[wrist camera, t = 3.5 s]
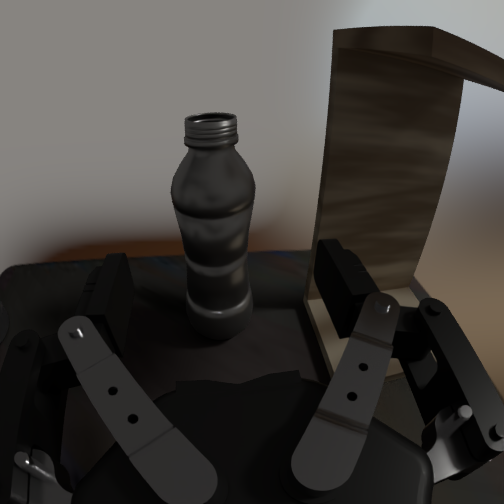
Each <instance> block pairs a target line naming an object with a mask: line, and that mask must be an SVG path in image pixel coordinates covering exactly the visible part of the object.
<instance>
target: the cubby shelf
mask: <svg viewBox="0 0 504 504" xmlns="http://www.w3.org/2000/svg"><path fill="white" fill-rule="evenodd" d="M331 64H332V65H331V78H330V92H329V105H328V116H327V126H326V137H325V146H324V156H323V165H322V174H321V183H320V190H319V198H318V206H317V213H316V221H315V228H314V235H313V242H312V248H311V255H310V261H309V268H308V274H307V280H306V286H305V292H304V298H303V302H304V305H305V307H306V310H307V313H308V316H309V318H310V321H311V324H312V327H313V329H314V332H315V335H316V338H317V340H318V343H319V346H320V349H321V352H322V355H323V357H324V360H325V363H326V366H327V369H328V372H329V374H330V377H331V379H332V377H333V375H334V373H335V370H336V368H337V366H338V364H339V361H340V359H341V357H342V355H343V352H344V350H345V348H346V345H347V343H348V340H349V338H343V339H339V337H338V335H337V332H336V330H335V328H334V325H333V323H332V321H331V318H330V316H329V314H328V311H327V309H326V307H325V304H324V302H323V300H322V297H321V295H320V293H319V291H318V288H317V286H316V284H315V281H314V274H313V270H314V263H315V256H316V250H317V243H318V241H319V240H320V239H334V238H336V239H337V240H338V241H339V242H340V244H341V246H342V247H343V249H349V250H350V251H352V252H353V253H354V254H356V255H357V256H358V257H359V259H360V260H361V262H362V263H363V265H364V267H365V268H366V270H367V272H368V273H369V274H370V276H371V277H372V279H373V280H374V282H375V284H376V285H377V287H378V288H379V290H380V292H383V293H386V294H389V295H391V296H392V297H394V298H395V299H396V300H397V301H398V303H399V305H400V306H407V307H417V308H418V306H419V301H418V300H417V298H416V297H415V296H414V294H413V293H412V291H411V290H410V288H409V285H410V283H411V280H412V278H413V275H414V272H415V270H416V267H417V265H418V262H419V259H420V256H421V254H422V251H423V248H424V245H425V242H426V239H427V236H428V234H429V231H430V228H431V224H432V221H433V218H434V215H435V211H436V208H437V205H438V202H439V198H440V194H441V191H442V187H443V183H444V180H445V176H446V172H447V168H448V164H449V160H450V155H451V151H452V146H453V142H454V137H455V132H456V127H457V121H458V116H459V109H460V103H461V96H462V90H463V82H464V79H465V80H468V81H472V82H475V83H478V84H481V85H484V86H488V87H491V88H493V89H496V90H499V91H502V92H504V59H502V58H501V57H499V56H497V55H495V54H493V53H491V52H489V51H487V50H485V49H483V48H481V47H479V46H477V45H475V44H473V43H471V42H469V41H466V40H465V39H462V38H460V37H458V36H455V35H453V34H451V33H448V32H446V31H443V30H441V29H439V28H436V27H431V26H378V27H360V28H347V29H337V30H333V46H332V63H331ZM431 353H432V355H433V357H434V359H435V361H436V358H435V356H434V354H433V352H432V350H431ZM436 363H437V361H436ZM403 377H406V376H405V374H404V372H403V369H402V367H401V365H400V362H399V360H398V359H397V358H391V359H390V362H389V366H388V369H387V373H386V376H385V379H384V383H385V382H389V381H393V380H396V379H400V378H403Z"/></svg>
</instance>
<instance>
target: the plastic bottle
mask: <svg viewBox="0 0 504 504" xmlns="http://www.w3.org/2000/svg"><path fill="white" fill-rule="evenodd" d="M237 142H238V134H237V119H236V115H233V114H229V113H202V114H196V115H191V116H189V117H186V118H185V137H184V144H185V146H187V147H189V150H188V153H187V154H186V156H185V157H184V159H183V160H182V162H181V164H180V165H179V167H178V169H177V171H176V173H175V175H174V177H173V181H172V186H171V197H172V203H173V205H174V210H175V214H176V217H177V221H178V224H179V228H180V232H181V236H182V242H183V247H184V251H185V258H186V264H187V293H186V312H187V315H188V317H189V320H190V322H191V325H192V326H193V328H194V329H195V330H196V331H197V332H198V333H200V334H201V335H203V336H205V337H207V338H210V339H214V340H224V339H229V338H232V337H234V336H236V335H237V334H239V333H240V332H241V331H243V330H244V329H245V328H246V326H247V325H248V323H249V321H250V317H251V314H252V310H253V299H252V292H251V289H250V285H249V277H248V266H247V247H248V235H249V227H250V221H251V215H252V210H253V204H254V198H255V189H256V188H255V182H254V178H253V174H252V172H251V171H250V169H249V167H248V166H247V164H246V163H245V161H244V160H243V158H242V157H241V156H240V155H239V153H238V152H237V151H236V150H235V146H234V145H235V144H237Z"/></svg>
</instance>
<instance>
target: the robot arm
mask: <svg viewBox="0 0 504 504" xmlns="http://www.w3.org/2000/svg"><path fill="white" fill-rule="evenodd" d="M313 274H314V281H315V284H316V286H317V288H318V291H319V293H320V295H321V297H322V300H323V302H324V304H325V307H326V309H327V311H328V314H329V316H330V318H331V321H332V323H333V325H334V328H335V330H336V332H337V335H338V337H339V339H343V338H349V340H348V343H347V345H346V348H345V350H344V352H343V355H342V357H341V359H340V361H339V364H338V366H337V368H336V370H335V373H334V375H333V377H332V379H331V381H330V384H329V386H327V385H325V384H323V383H320V382H318V381H314V380H310V379H303V378H301V377H300V373H299V370H295V371H288V372H281V373H273V374H268V375H265V376H262V377H259V378H256V379H253V380H250V381H247V382H244V383H241V384H232V383H224V382H217V381H210V380H197V381H176V390H175V391H171V392H169V393H166V394H164V395H162V396H160V397H158V398H157V399H155V400H154V401H153V402H152V401H151V399H150V398H149V397H148V396H147V395H146V393H145V392H144V391H143V390H142V388H141V387H140V386H139V385H138V383H137V382H136V381H135V379H134V378H133V377H132V376H131V374H130V373H129V372H128V370H127V369H126V368H125V366H124V365H123V364H122V362H121V361H120V359H119V358H118V357H123V355H124V348H125V342H126V336H127V330H128V325H129V319H130V314H131V309H132V304H133V299H134V283H133V279H132V275H131V272H130V268H129V264H128V260H127V256H126V254H125V253H112V254H107V255H106V258H105V260H104V263H103V265H102V266H99V267H96V268H95V269H94V270H93V271H92V272H91V273H90V274H89V277H88V279H87V282H86V285H85V287H84V290H83V293H82V295H81V298H80V300H79V303H78V306H77V309H76V311H75V314H74V317H71V318H69V319H68V320H66V321H65V322H64V323H63V324H62V325H61V326H60V328H59V331H58V333H56V334H53V335H50V336H46V337H43V338H40V337H39V335H38V334H37V333H36V332H35V331H33V330H24V331H21V332H19V333H18V334H17V335H15V336H14V338H13V339H12V340H11V342H10V345H9V348H8V351H7V354H6V357H5V360H4V363H3V366H2V369H1V372H0V504H431V500H432V491H433V486H434V485H436V484H438V483H440V482H443V481H445V480H447V479H449V480H454V481H455V480H460V479H462V478H463V477H465V476H467V475H468V474H470V473H472V472H473V471H475V470H476V469H478V468H480V467H481V466H483V465H484V464H486V463H487V462H489V461H490V460H492V459H493V458H495V457H496V456H498V455H499V454H500V453H502V452H503V451H504V405H503V403H502V401H501V399H500V397H499V395H498V393H497V391H496V389H495V387H494V385H493V383H492V382H491V380H490V378H489V376H488V374H487V372H486V370H485V369H484V367H483V365H482V363H481V361H480V360H479V358H478V356H477V354H476V353H475V351H474V349H473V347H472V346H471V344H470V342H469V341H468V339H467V337H466V336H465V334H464V332H463V331H462V329H461V328H460V326H459V324H458V323H457V321H456V320H455V318H454V316H453V315H452V314H451V312H450V310H449V309H448V307H447V306H446V305H445V304H444V303H443V302H441V301H439V300H437V299H434V298H425V299H423V300H421V302H420V303H419V306H418V308H417V307H407V306H400V305H399V303H398V301H397V300H396V299H395V298H394V297H392V296H391V295H389V294H386V293H383V292H380V290H379V288H378V287H377V285H376V284H375V282H374V280H373V279H372V277H371V276H370V274H369V273H368V272H367V270H366V268H365V267H364V265H363V263H362V262H361V260H360V259H359V257H358V256H357V255H356V254H354V253H353V252H352V251H350V250H349V249H343V247H342V246H341V244H340V242H339V241H338V240H337V239H336V238H334V239H320V240H319V241H318V243H317V250H316V256H315V263H314V270H313ZM8 327H9V316H8V313H7V312H6V310H5V308H4V306H3V304H2V302H1V300H0V343H1V342H2V341H3V339H4V337H5V335H6V333H7V330H8ZM431 350H432V352H433V354H434V356H435V358H436V361H437V363H436V361H435V359H434V357H433V355H432V353H431ZM391 358H397V359H398V360H399V362H400V365H401V367H402V369H403V372H404V374H405V376H406V379H407V381H408V383H409V386H410V388H411V391H412V393H413V395H414V398H415V400H416V403H417V405H418V408H419V411H420V413H421V416H422V418H423V421H424V423H425V427H424V429H423V431H422V435H421V440H422V445H421V447H422V448H421V447H420V446H418V445H417V444H415V443H414V442H412V441H411V440H409V439H407V438H406V437H404V436H403V435H401V434H400V433H398V432H396V431H395V430H393V429H392V428H390V427H389V426H387V425H386V424H384V423H382V422H381V421H379V420H378V419H376V418H375V417H373V413H374V410H375V407H376V405H377V402H378V398H379V395H380V392H381V389H382V386H383V383H384V379H385V376H386V373H387V369H388V366H389V362H390V359H391ZM79 385H82V387H83V388H84V390H85V392H86V394H87V395H88V397H89V399H90V400H91V402H92V404H93V405H94V407H95V409H96V410H97V412H98V413H99V415H100V417H101V418H102V420H103V421H104V423H105V424H106V426H107V427H108V429H109V430H110V432H111V433H112V435H113V436H114V438H115V439H116V440H117V441H116V442H115V443H114V444H113V446H112V447H111V448H110V449H109V450H108V451H107V452H106V453H105V454H104V456H103V457H102V458H101V459H100V460H99V461H98V462H97V463H96V464H95V466H94V467H93V468H92V469H91V470H90V471H89V472H88V473H87V474H86V476H85V477H84V478H83V479H82V480H81V481H80V482H79V483H78V485H77V486H76V488H75V490H74V491H73V489H72V487H71V484H70V477H69V473H68V471H67V470H66V468H65V467H64V466H63V465H62V464H60V456H61V443H62V433H63V424H64V415H65V408H66V400H67V394H68V388H71V387H75V386H79Z"/></svg>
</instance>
